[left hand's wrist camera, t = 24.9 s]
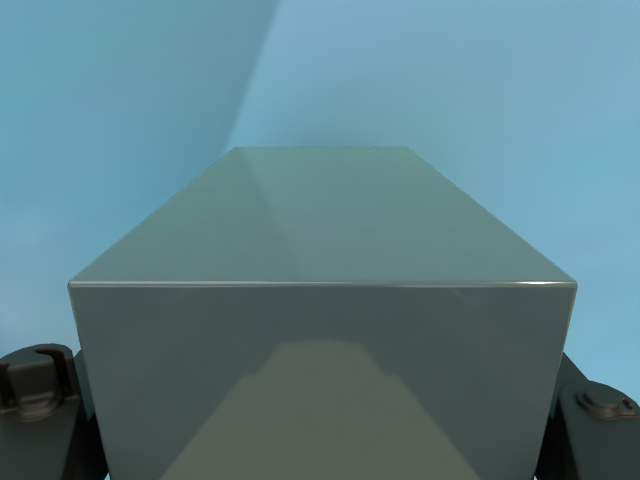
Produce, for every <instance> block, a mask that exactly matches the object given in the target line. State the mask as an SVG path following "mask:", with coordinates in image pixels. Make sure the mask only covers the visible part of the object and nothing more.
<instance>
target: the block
mask: <svg viewBox="0 0 640 480" xmlns="http://www.w3.org/2000/svg"><path fill="white" fill-rule="evenodd" d="M577 288H578V287H577V282H576V281H575V280H574V279H573V278H572V277H570V276H569V275H568V274H567V273H565V272H564V271H563V270H562V269H560V268H559V267H558V266H557V265H555V264H554V263H553V262H551V261H550V260H549V259H548V258H546V257H545V256H544V255H543V254H541V253H540V252H539V251H538V250H536V249H535V248H534V247H533V246H531V245H530V244H529V243H528V242H526V241H525V240H524V239H523V238H521V237H520V236H519V235H518V234H516V233H515V232H514V231H513V230H511V229H510V228H509V227H508V226H506V225H505V224H504V223H502V222H501V221H500V220H499V219H497V218H496V217H495V216H494V215H492V214H491V213H490V212H489V211H487V210H486V209H485V208H484V207H482V206H481V205H480V204H479V203H477V202H476V201H475V200H474V199H472V198H471V197H470V196H469V195H467V194H466V193H465V192H464V191H462V190H461V189H460V188H459V187H457V186H456V185H455V184H453V183H452V182H451V181H450V180H448V179H447V178H446V177H445V176H443V175H442V174H441V173H440V172H438V171H437V170H436V169H435V168H433V167H432V166H431V165H430V164H428V163H427V162H426V161H425V160H423V159H422V158H421V157H420V156H418V155H417V154H416V153H415V152H413V151H412V150H411V149H410V148H408V147H234V148H232V149H231V150H230V151H229V152H227V153H226V154H225V155H224V156H222V157H221V158H220V159H219V160H218V161H216V162H215V163H214V164H213V165H211V166H210V167H209V168H208V169H206V170H205V171H204V172H203V173H201V174H200V175H199V176H198V177H197V178H195V179H194V180H193V181H192V182H190V183H189V184H188V185H187V186H185V187H184V188H183V189H182V190H180V191H179V192H178V193H177V194H176V195H174V196H173V197H172V198H171V199H169V200H168V201H167V202H166V203H164V204H163V205H162V206H161V207H159V208H158V209H157V210H156V211H155V212H153V213H152V214H151V215H150V216H148V217H147V218H146V219H145V220H143V221H142V222H141V223H140V224H138V225H137V226H136V227H135V228H133V229H132V230H131V231H130V232H129V233H127V234H126V235H125V236H124V237H122V238H121V239H120V240H119V241H117V242H116V243H115V244H114V245H112V246H111V247H110V248H109V249H108V250H106V251H105V252H104V253H103V254H101V255H100V256H99V257H98V258H96V259H95V260H94V261H93V262H91V263H90V264H89V265H88V266H87V267H85V268H84V269H83V270H82V271H80V272H79V273H78V274H77V275H75V276H74V277H73V278H72V279H70V280H69V282H68V292H69V296H70V301H71V305H72V310H73V314H74V319H75V323H76V328H77V332H78V337H79V341H80V346H81V350H82V355H83V359H84V364H85V368H86V373H87V377H88V382H89V386H90V391H91V395H92V400H93V404H94V409H95V413H96V418H97V422H98V427H99V431H100V436H101V440H102V445H103V449H104V454H105V458H106V463H107V467H108V472H109V476H110V480H534V476H535V472H536V468H537V463H538V459H539V454H540V450H541V446H542V441H543V437H544V432H545V428H546V424H547V419H548V415H549V411H550V406H551V402H552V397H553V393H554V389H555V384H556V380H557V375H558V371H559V367H560V362H561V358H562V353H563V349H564V345H565V340H566V336H567V331H568V327H569V323H570V318H571V314H572V310H573V305H574V301H575V296H576V292H577Z"/></svg>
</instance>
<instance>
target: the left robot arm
mask: <svg viewBox="0 0 640 480" xmlns="http://www.w3.org/2000/svg"><path fill="white" fill-rule="evenodd" d="M107 474H108V467H107V463H106V458H105V454H104V449H103V445H102V440H101V436H100V431H99V427H98V422H97V418H96V413H95V409H94V404H93V400H92V395H91V391H90V386H89V382H88V377H87V373H86V368H85V364H84V359H83V355H82V350H80V351H79V352H78V353H77V354H76V356H75V357H74V358H73V354H72V350H71V349H69V348H68V347H67V346H65V345H60V344H54V343H52V344H39V345H35V346H30V347H26V348H22V349H20V350H17V351H15V352H13V353H10V354H8V355H6V356H4V357H2V358H1V359H0V480H105V478H106V476H107ZM535 477H536V478H537V480H640V407H639V406H638V404H637V403H636V402H635V401H633V400H632V399H631V398H629V397H628V396H627V395H625V394H624V393H622V392H620V391H618V390H616V389H614V388H612V387H610V386H608V385H604V384H601V383H597V382H594V381H589V380H588V379H587V378H586V377H585V376H584V375H583V374H582V372H581V371H580V370H579V369H578V368H577V367H576V366H575V364H574V363H573V362H572V361H571V360H570V359H569V358H568V357H567V355H566V354H565V353H564V352H563V353H562V358H561V362H560V367H559V371H558V375H557V380H556V384H555V389H554V393H553V397H552V402H551V406H550V411H549V415H548V419H547V424H546V428H545V432H544V437H543V441H542V446H541V450H540V454H539V459H538V463H537V468H536V472H535Z"/></svg>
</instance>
